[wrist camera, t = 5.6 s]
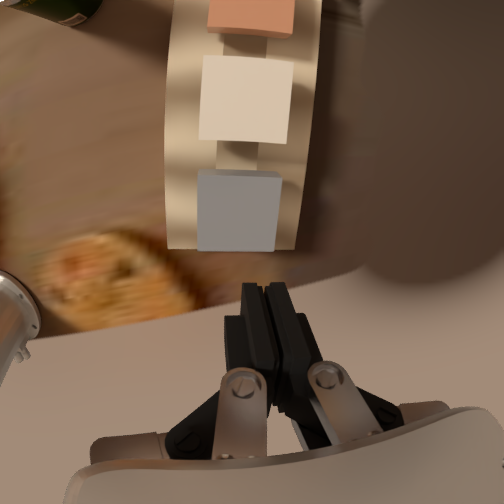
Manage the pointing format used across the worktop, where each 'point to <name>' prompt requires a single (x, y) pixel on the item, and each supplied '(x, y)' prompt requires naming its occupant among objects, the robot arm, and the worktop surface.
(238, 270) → the worktop surface
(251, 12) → the terracotta tile
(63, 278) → the worktop surface
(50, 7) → the beer can
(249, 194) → the slate tile
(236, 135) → the cream tile
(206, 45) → the button board
